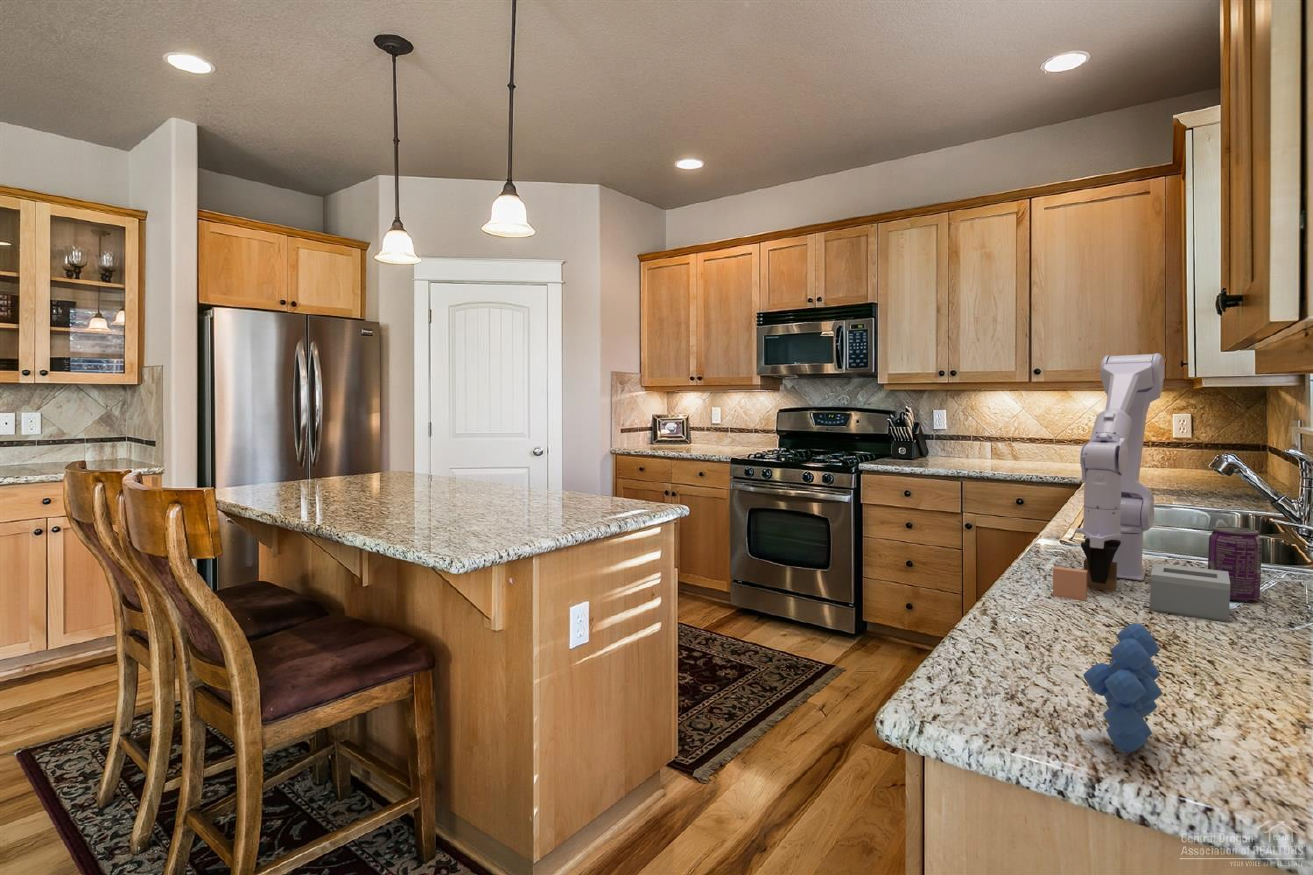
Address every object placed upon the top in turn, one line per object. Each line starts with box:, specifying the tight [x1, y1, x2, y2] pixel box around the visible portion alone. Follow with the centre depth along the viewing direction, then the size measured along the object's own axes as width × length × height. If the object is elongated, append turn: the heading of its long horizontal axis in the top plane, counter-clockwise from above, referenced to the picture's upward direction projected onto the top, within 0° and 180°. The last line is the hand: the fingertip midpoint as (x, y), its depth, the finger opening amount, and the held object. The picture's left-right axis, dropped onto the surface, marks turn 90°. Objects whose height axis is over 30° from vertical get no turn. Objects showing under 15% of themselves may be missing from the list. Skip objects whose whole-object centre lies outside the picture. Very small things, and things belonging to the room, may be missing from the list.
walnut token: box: [1083, 558, 1118, 593], centre depth 126 cm, size 2×5×5 cm, turn 52°
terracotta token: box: [1052, 565, 1088, 602], centre depth 121 cm, size 2×5×5 cm, turn 52°
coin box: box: [1149, 562, 1231, 623], centre depth 114 cm, size 10×10×6 cm
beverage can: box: [1207, 525, 1263, 602], centre depth 120 cm, size 7×7×12 cm
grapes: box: [1082, 622, 1163, 754], centre depth 69 cm, size 12×7×12 cm, turn 136°
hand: (1099, 580), depth 126 cm, fingers open, 3 cm apart
